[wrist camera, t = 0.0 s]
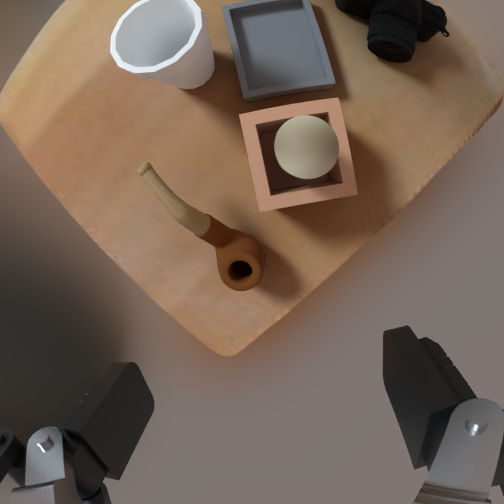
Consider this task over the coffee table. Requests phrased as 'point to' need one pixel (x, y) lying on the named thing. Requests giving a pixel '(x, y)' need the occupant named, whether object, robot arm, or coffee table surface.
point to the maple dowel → (306, 147)
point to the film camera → (397, 25)
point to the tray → (277, 48)
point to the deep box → (279, 181)
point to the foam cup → (164, 43)
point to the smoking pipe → (213, 236)
